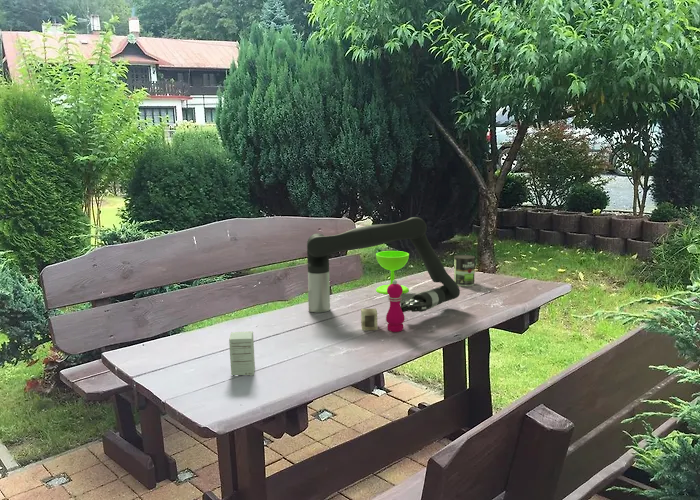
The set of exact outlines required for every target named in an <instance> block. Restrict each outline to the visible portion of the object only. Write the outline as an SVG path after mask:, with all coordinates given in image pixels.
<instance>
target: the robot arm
mask: <svg viewBox="0 0 700 500" xmlns="http://www.w3.org/2000/svg"><path fill="white" fill-rule="evenodd" d="M427 228H428V227H427V224H426V222H425V220H423V218H421V217H419V216H417V217H416V216H413V217H409V218H408V219H405V220H402V221H398V222H393V223H382V224H381V223H379V224H370V225H363V226H359V227H355V228H353V229H350V230H347V231H344V232H342V233H339V234H334V235H324V234H322V233H313V234H312V235H311V236H309V238H308V239H307V242H306V252H307V253H306V255H307V256H306V257H307V260H306V261H307V288H308V289H307V293H308V294H307V296H308V297H307V298H308V299H307V300H308V301H307V303H308V313H310V312H312V313H326V312H329V311H330V309H331V298H330V297H331V294H330V258H329V255H332V254H336V253H339V252H345V251H347V252H348V251H354V250H361V249H367V248H372V247H377V246H381V245H385V244H388V243H391V242H395V241H400V240H401V241H402V240H410V242H411V243H412V245H413V246H414V248H415V250H416V251H417V253H418V254H419V256H420V258H421V261H422V263H423V264H424V267H425V269H426V271H427V273H428V275H429V277H430V279H431V280H432V282H433V283H441V284H442V285H441V286H437V287H434V288H432V289H429V290H424V291H421V292H418V293H416V294H414V295H413V297H412V298H411V299H408V300H404V299H402V298H401V300H400V306H401V309H402V311H403V313H406V312H412V313H414V312H415V313H417V312H419V313H422V312H426V311H428V310H431V309H433V308H435V307H436V306H439V305H441V304H443V303H445V302H449V301H451V300H452V301H453V300H455V299H457V298H459V296H460V295H461V291H460V286H458V285H457V284H456V282H455V281H454V278H452V277H451V276H450V275H449V273H448V272H447V270H446V268H445V266H444V264H443V262H442V260H441V259H440V258H439V256H438V254H437V253H436V251H435V250H434V248H433V247H432V244H431V243H430V242H429V240H428V237H427V234H426V232H427Z"/></svg>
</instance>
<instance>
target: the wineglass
mask: <svg viewBox="0 0 700 500" xmlns="http://www.w3.org/2000/svg"><path fill="white" fill-rule="evenodd" d="M375 258H376V261H377V264H379V265H380V267H382V269H385V270H387V271H390V282H389V283H388V284H383V285H380V286H378V287H377V288H376V289H375V291H376V292H377V293H378V294H381V295H382V294H383V295H387V294H388V293H387V288H388V286H389V285H391V284H393V283H392V282H393V280H395V271H398V270H401V269H402V268H404V267H405V266H406V264H407V263H408V261H409V258H410V252H409V253H408V252H406V251H403V250H402V251H400V250H383V251H379V252H376V253H375ZM400 285H401V284H400ZM401 287H402V289H403V292H402V294H401V295H404V294H407V293H409V291H410V289H409V288H408V287H407V286H405V285H401ZM403 293H404V294H403Z"/></svg>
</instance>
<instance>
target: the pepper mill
mask: <svg viewBox="0 0 700 500" xmlns="http://www.w3.org/2000/svg"><path fill="white" fill-rule="evenodd" d="M392 283H393V284H391V285H389V284H388V285H389V286H388V288H387V293H388V294H389V295H388V301H389V308H388V310H387V313H386V316H385V321H386V322H387V326H386V328H387V331H389V332H393V333H399V332H402V331H403V330H404V324H403V323H404V322H405V320H406V318H405V314H404V312H403V311H402V309H401V300H402V295H403V294H402V292H403V289H402V287H401V284H399V283H398V281H397V280H396V279H394V280H393V282H392Z"/></svg>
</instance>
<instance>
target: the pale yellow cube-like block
mask: <svg viewBox="0 0 700 500" xmlns="http://www.w3.org/2000/svg"><path fill="white" fill-rule="evenodd" d="M360 317H361V319H360V320H361V321H360V324H361V325H360V327H361V331H378V311H377V308H361V309H360Z"/></svg>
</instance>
